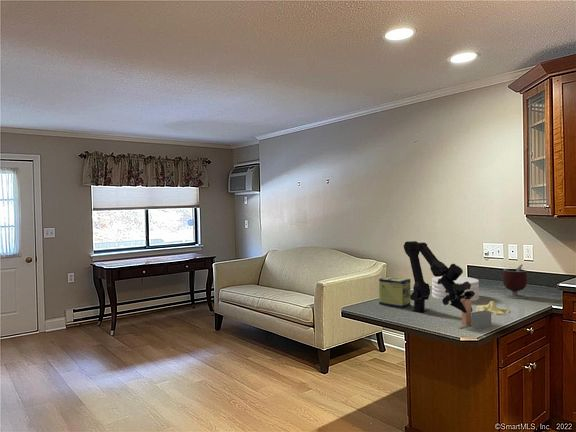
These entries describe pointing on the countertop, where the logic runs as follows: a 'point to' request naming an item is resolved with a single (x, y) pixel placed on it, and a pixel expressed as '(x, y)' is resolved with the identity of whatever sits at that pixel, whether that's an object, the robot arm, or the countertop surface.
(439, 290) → the plate stack
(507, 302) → the countertop surface
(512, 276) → the mate gourd
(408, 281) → the protein box
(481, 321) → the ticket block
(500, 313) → the cloth
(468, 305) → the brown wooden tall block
